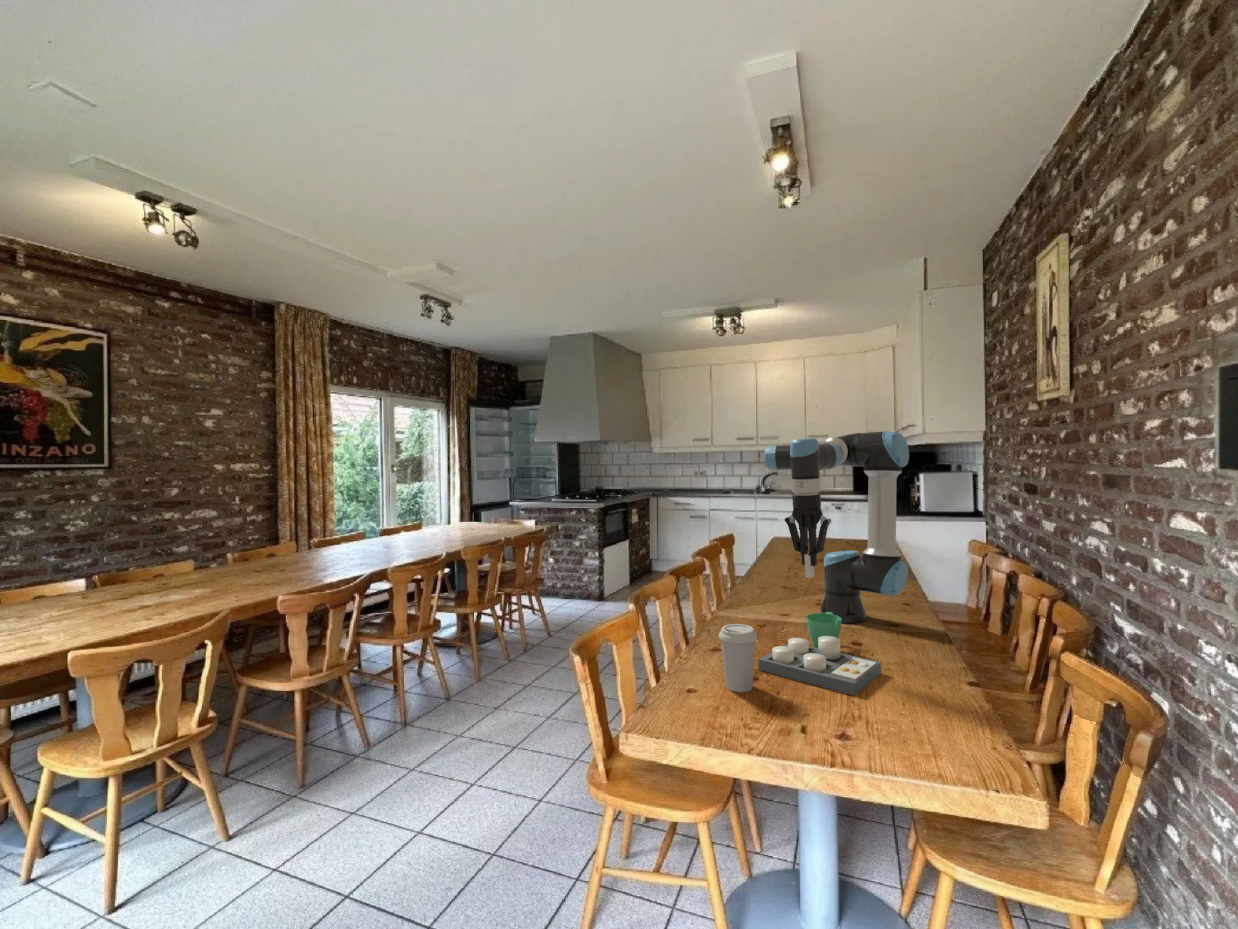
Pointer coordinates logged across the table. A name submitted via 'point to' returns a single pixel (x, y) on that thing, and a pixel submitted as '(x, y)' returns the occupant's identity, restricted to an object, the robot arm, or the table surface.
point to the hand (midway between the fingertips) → (810, 576)
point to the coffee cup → (738, 656)
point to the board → (827, 671)
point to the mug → (823, 626)
